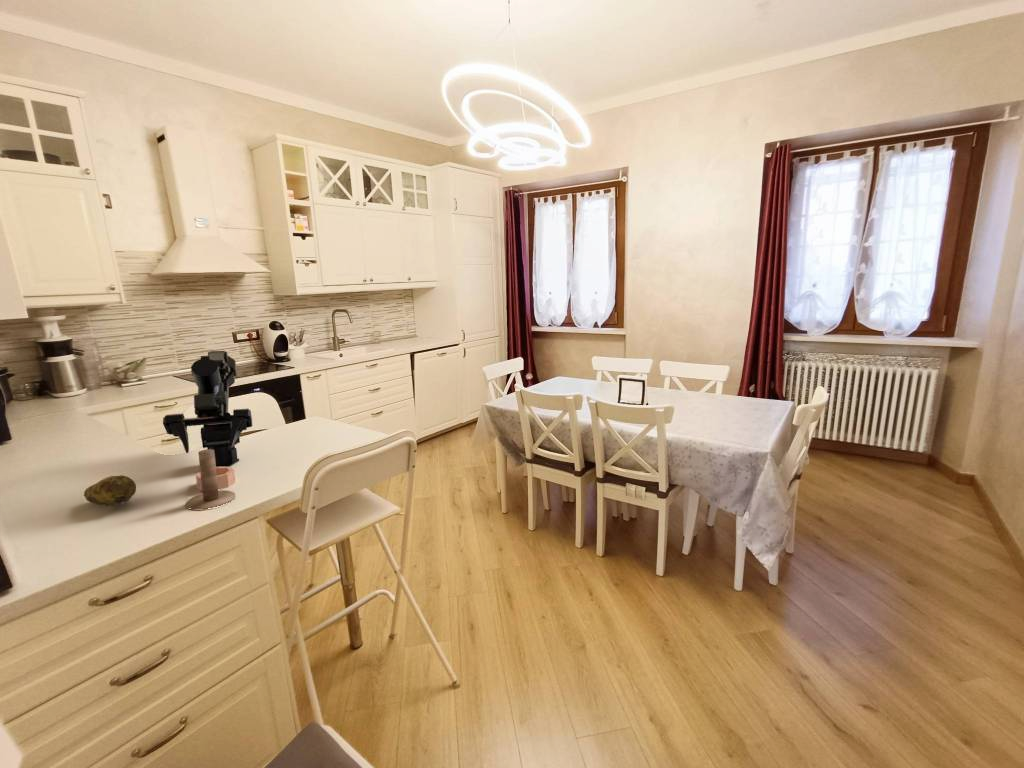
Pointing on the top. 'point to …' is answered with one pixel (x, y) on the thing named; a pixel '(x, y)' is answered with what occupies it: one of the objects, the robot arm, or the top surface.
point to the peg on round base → (209, 484)
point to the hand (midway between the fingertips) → (209, 449)
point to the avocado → (111, 490)
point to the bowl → (220, 477)
